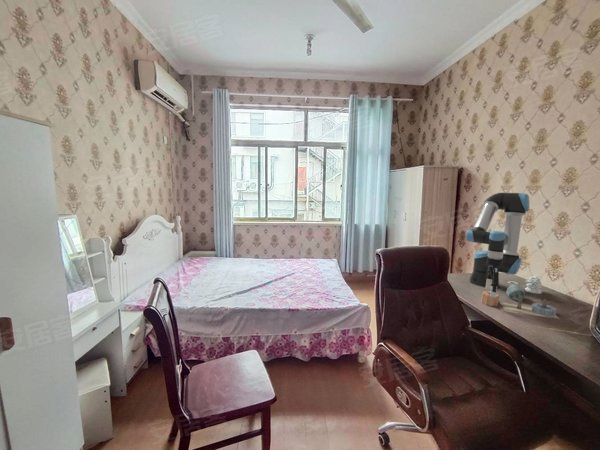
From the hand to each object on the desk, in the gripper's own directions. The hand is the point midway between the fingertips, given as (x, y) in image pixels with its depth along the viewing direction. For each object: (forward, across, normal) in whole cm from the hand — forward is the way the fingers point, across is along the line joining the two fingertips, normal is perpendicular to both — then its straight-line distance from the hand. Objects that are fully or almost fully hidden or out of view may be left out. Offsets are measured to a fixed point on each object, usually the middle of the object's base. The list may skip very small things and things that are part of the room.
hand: (490, 293), depth 174 cm
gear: (+6, +4, +25) cm, 26 cm away
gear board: (+6, +3, +18) cm, 19 cm away
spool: (+6, -16, +16) cm, 23 cm away
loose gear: (+7, -1, 0) cm, 7 cm away
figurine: (+6, -37, +31) cm, 48 cm away
